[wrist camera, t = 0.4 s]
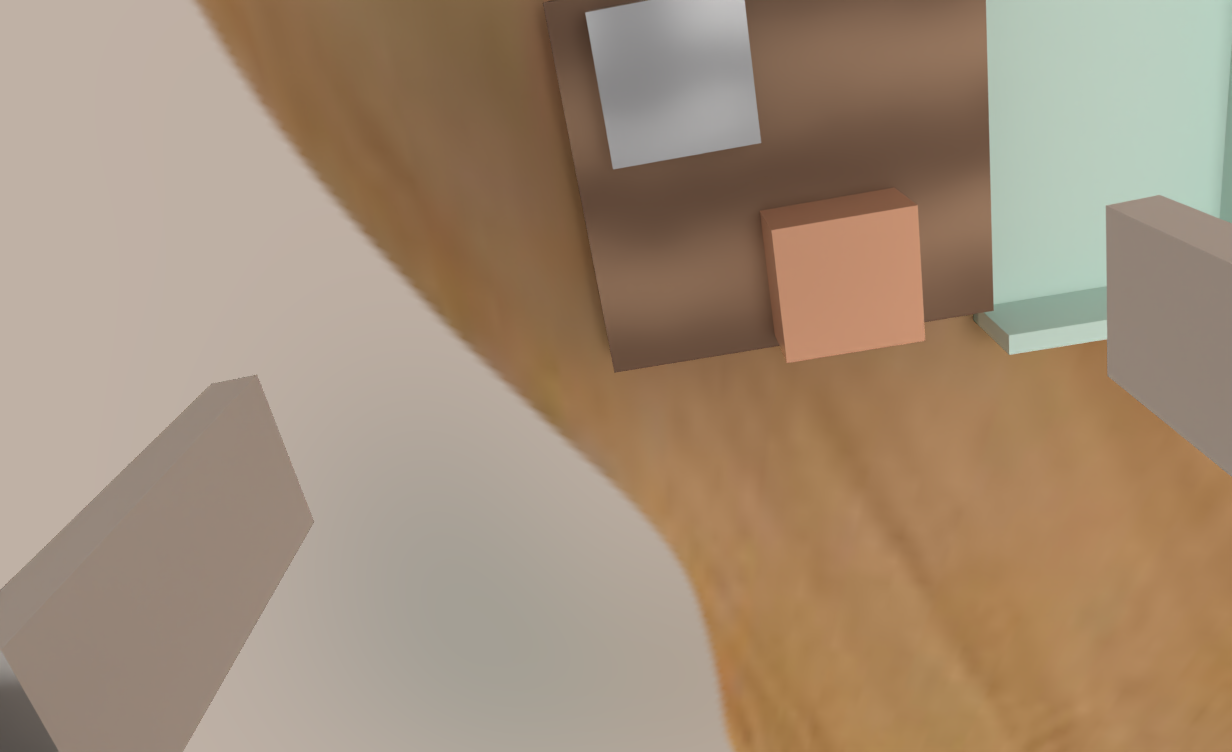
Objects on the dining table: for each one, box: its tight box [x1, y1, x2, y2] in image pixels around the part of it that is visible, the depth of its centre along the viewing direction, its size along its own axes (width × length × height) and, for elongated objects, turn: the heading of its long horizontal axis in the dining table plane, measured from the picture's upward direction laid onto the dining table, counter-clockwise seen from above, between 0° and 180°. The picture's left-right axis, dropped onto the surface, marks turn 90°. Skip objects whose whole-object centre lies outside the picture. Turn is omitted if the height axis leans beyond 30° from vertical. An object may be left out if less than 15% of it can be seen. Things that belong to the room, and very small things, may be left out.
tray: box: [973, 0, 1232, 355], centre depth 34 cm, size 17×10×4 cm, turn 10°
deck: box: [543, 0, 994, 372], centre depth 36 cm, size 14×15×3 cm
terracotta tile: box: [760, 188, 925, 363], centre depth 34 cm, size 5×5×3 cm
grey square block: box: [585, 0, 761, 169], centre depth 32 cm, size 5×5×3 cm
